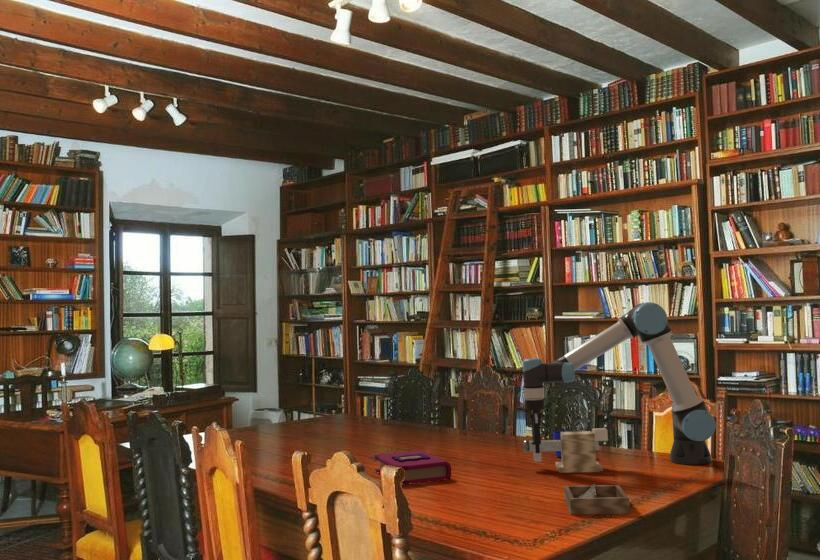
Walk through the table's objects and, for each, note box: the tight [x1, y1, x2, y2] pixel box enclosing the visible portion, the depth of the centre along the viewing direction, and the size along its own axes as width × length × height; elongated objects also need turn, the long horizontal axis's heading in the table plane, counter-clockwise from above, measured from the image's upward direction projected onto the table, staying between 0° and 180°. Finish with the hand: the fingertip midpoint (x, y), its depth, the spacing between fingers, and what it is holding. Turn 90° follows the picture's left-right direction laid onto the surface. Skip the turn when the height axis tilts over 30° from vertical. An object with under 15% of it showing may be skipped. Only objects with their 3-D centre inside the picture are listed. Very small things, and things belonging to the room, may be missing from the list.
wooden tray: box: [563, 484, 631, 515], centre depth 226 cm, size 17×17×4 cm
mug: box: [552, 430, 572, 459], centre depth 307 cm, size 8×12×10 cm
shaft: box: [522, 439, 600, 453], centre depth 284 cm, size 28×4×4 cm, turn 84°
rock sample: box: [578, 483, 599, 498], centre depth 229 cm, size 10×8×9 cm
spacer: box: [591, 427, 609, 442], centre depth 283 cm, size 5×5×4 cm
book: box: [374, 449, 452, 486], centre depth 282 cm, size 21×28×8 cm
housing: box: [555, 430, 604, 474], centre depth 283 cm, size 16×14×13 cm
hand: (537, 460), depth 284 cm, fingers closed on shaft, 4 cm apart
